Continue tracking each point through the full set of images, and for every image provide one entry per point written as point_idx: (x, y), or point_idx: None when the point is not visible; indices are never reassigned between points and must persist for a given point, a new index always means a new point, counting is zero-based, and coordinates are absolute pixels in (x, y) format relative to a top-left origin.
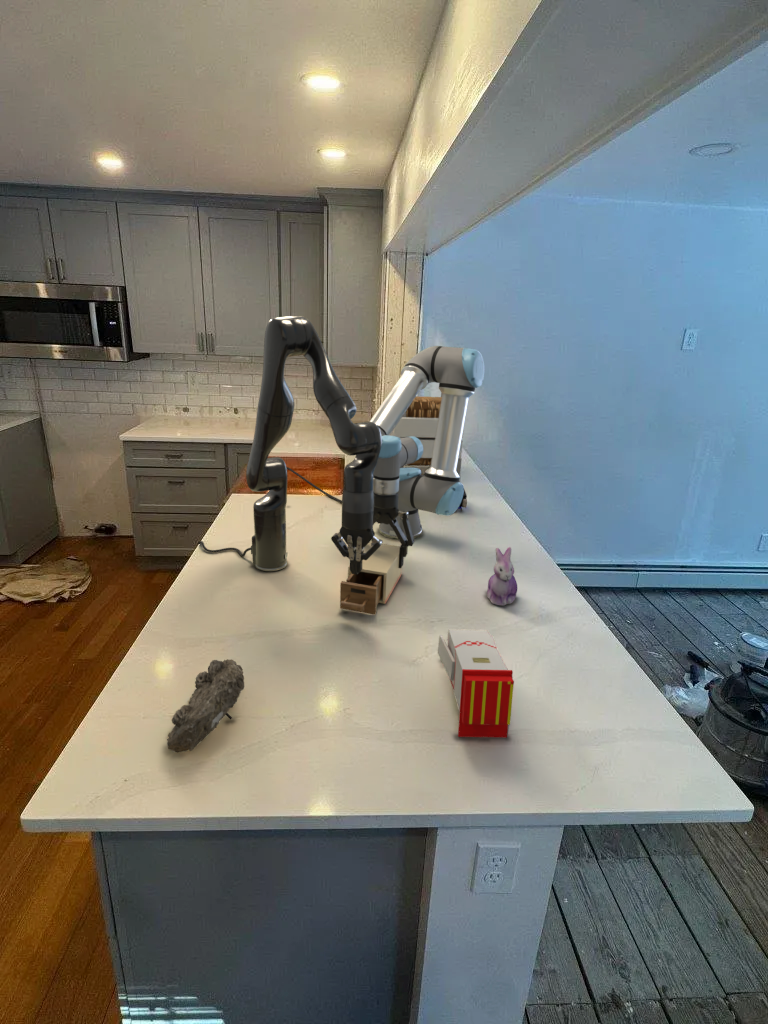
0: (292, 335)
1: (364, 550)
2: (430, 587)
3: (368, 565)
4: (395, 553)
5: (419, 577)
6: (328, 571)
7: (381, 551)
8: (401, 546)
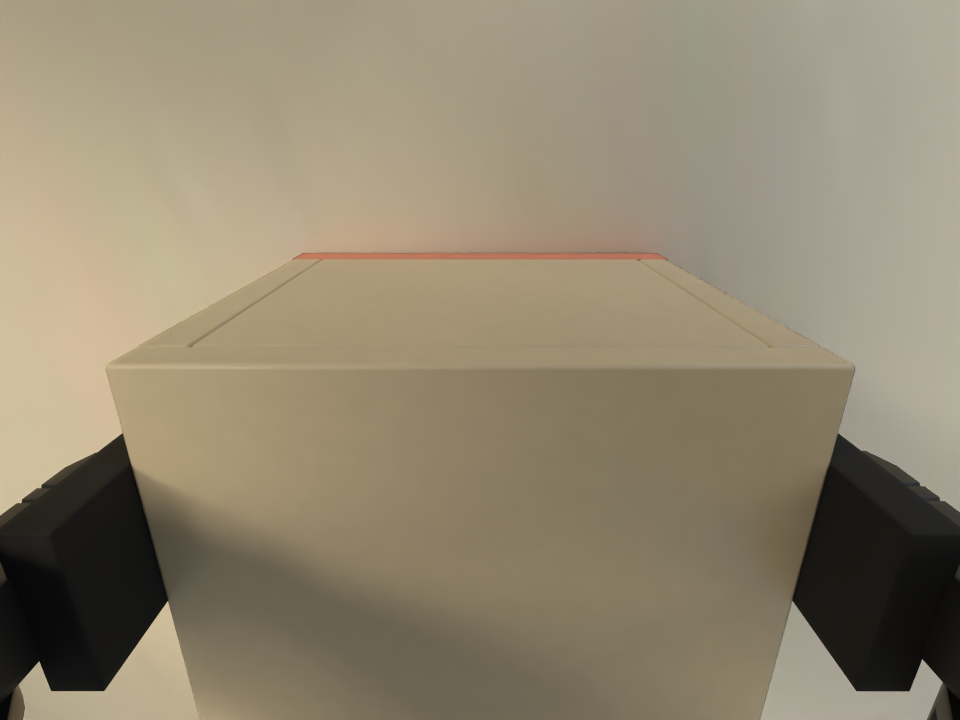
0: None
1: (240, 691)
2: (929, 393)
3: None
4: (731, 650)
5: (838, 235)
6: (10, 401)
7: (499, 652)
8: (895, 655)
